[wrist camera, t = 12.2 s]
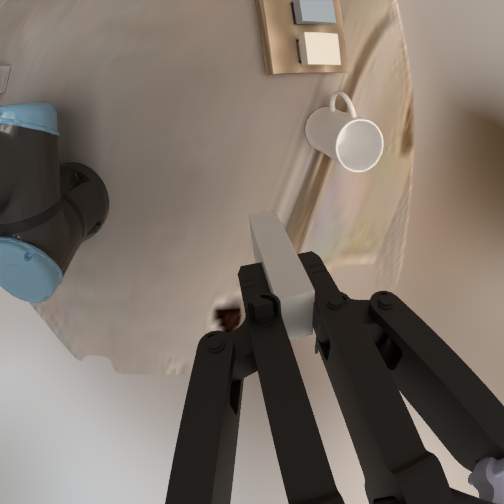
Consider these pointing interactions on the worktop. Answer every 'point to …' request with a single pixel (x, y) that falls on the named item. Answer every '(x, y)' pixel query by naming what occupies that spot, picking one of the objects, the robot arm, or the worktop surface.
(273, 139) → the worktop surface
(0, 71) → the small box
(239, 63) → the worktop surface
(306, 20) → the slate key
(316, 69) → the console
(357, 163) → the mug
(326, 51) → the ivory key
